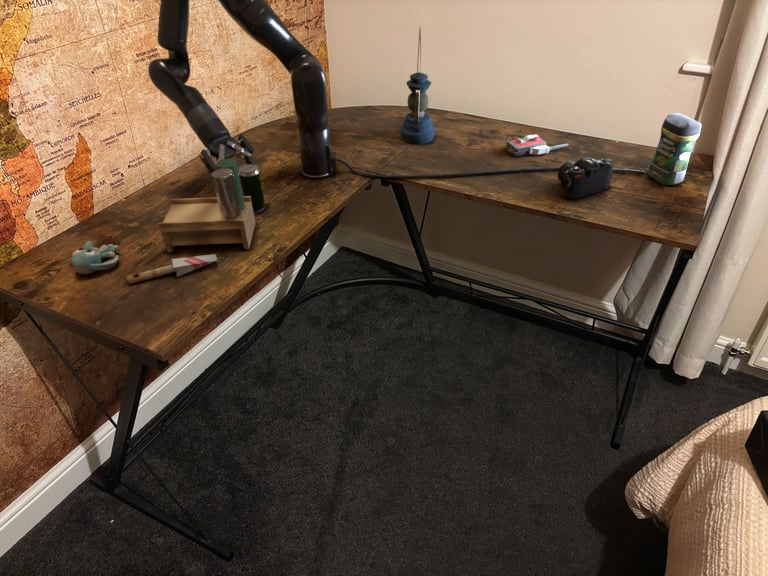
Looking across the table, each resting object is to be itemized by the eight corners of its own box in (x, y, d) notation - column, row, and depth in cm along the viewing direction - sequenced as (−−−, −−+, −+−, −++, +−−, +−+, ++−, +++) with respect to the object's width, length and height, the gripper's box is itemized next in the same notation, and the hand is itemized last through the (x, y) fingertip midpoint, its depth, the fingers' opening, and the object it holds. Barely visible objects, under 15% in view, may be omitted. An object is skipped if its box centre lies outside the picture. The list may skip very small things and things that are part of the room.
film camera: (574, 171, 166) (581, 140, 160) (613, 185, 159) (621, 152, 153) (541, 192, 156) (547, 159, 150) (581, 207, 149) (589, 174, 143)
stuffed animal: (130, 234, 132) (90, 253, 122) (134, 262, 135) (96, 282, 125) (95, 227, 135) (53, 244, 125) (100, 253, 138) (60, 272, 128)
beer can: (250, 215, 149) (242, 174, 141) (242, 207, 152) (234, 167, 145) (268, 209, 151) (262, 169, 144) (260, 201, 155) (254, 162, 147)
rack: (255, 223, 145) (243, 156, 134) (249, 249, 136) (235, 179, 124) (179, 226, 145) (159, 159, 133) (167, 252, 135) (145, 182, 124)
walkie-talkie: (515, 160, 173) (569, 150, 178) (517, 147, 170) (572, 137, 175) (501, 149, 179) (553, 139, 185) (502, 136, 177) (555, 127, 182)
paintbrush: (216, 256, 128) (126, 280, 123) (219, 265, 130) (130, 289, 125) (213, 247, 131) (125, 270, 126) (216, 257, 133) (130, 279, 128)
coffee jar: (641, 174, 164) (660, 112, 153) (663, 169, 166) (683, 108, 155) (665, 188, 157) (686, 125, 145) (687, 183, 159) (709, 121, 147)
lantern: (402, 129, 194) (403, 21, 172) (436, 130, 193) (440, 21, 171) (397, 145, 183) (397, 32, 161) (433, 147, 182) (438, 33, 160)
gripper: (188, 126, 139) (227, 180, 140) (232, 109, 148) (268, 160, 149) (180, 141, 144) (218, 192, 146) (223, 124, 153) (258, 173, 155)
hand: (243, 176), depth 148 cm, fingers open, 8 cm apart
